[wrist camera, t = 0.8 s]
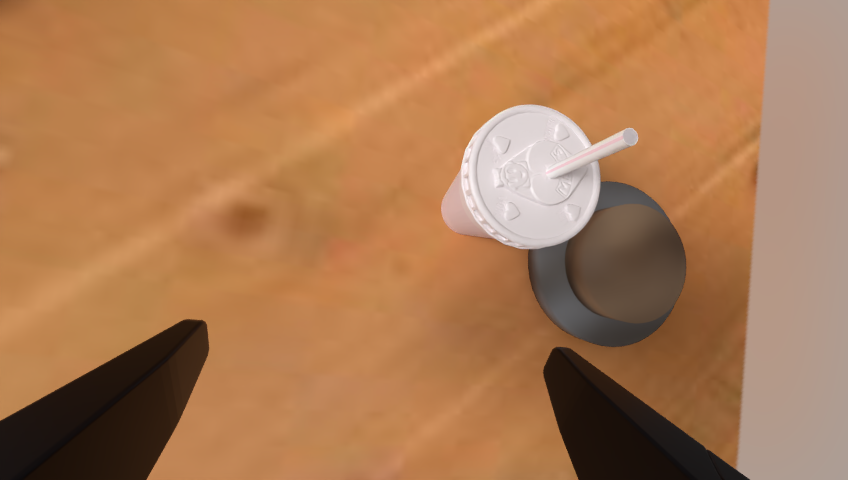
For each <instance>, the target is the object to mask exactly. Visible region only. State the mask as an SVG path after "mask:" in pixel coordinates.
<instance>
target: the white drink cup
mask: <svg viewBox="0 0 848 480" xmlns="http://www.w3.org/2000/svg"><path fill="white" fill-rule="evenodd" d="M637 140H638V135H637V133H636V131H635V130H634V129H632V128H627V129H625V130H623V131H621V132H618V133H616V134H614V135H612V136H610V137H608V138H606V139H604V140H602V141H600V142H598V143H596V144H594V145H591V143H590V141H589V140H588V138H587V137H586V135H585V134H584V132H583V131H582V130H581V129H580V128H579V127H578V126H577V125H576V124H575V123H574V122H573V121H572V120H571V119H569V118H568V117H566V116H565V115H563V114H562V113H560V112H558V111H556V110H553V109H551V108H548V107H544V106H539V105H520V106H515V107H512V108H509V109H506V110H504V111H502V112H500V113H499V114H497V115H496V116H494V117H493V118H492V119H490V120H489V121H488V122H486V123H485V124H484V125H483V126H482V127H481V128H480V129H479V130H478V131H477V132H476V133H475V134H474V135H473V137H472V139H471V141H470V142H469V144H468V146H467V148H466V150H465V153H464V157H463V161H462V165H461V170H460V171H459V173H458V175H457V176H456V178H455V179H454V181H453V183H452V184H451V186H450V188H449V189H448V191H447V193H446V194H445V196H444V198H443V201H442V205H441V212H442V216H443V219H444V221H445V223H446V224H447V226H448V227H449V228H450V229H451V230H453V231H454V232H456V233H459V234H462V235H470V236H478V237H486V238H494V239H496V240H498V241H500V242H501V243H503V244H505V245H509V246H512V247H516V248H519V249H540V248H543V247H549V246H554V245H557V244H560V243H563V242H565V241H567V240H569V239H570V238H572V237H573V236H575V235H576V234H577V233H578V232H580V231H581V230H582V229H583V228H584V226H585V225H586V224H587V223H588V221H589V220H590V218H591V216H592V215H593V213H594V210H595V208H596V205H597V202H598V198H599V194H600V183H601V181H600V169H599V164H598V160H599V159H602V158H604V157H606V156H609V155H611V154H614V153H616V152H618V151H621V150H623V149H625V148H628V147H630V146H633V145H635V144H636V143H637Z"/></svg>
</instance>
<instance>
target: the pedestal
mask: <svg viewBox="0 0 848 480" xmlns="http://www.w3.org/2000/svg"><path fill="white" fill-rule="evenodd" d="M528 269H529V277H530V281H531V285H532V289H533V291H534V294H535V296H536V299H537V301H538V303H539V304H540V306H541V308H542V309H543V311H544V312H545V314H546V315H547V316H548V317H549V318H550V319H551V321H552V322H553V323H554V324H556V325H557V326H558V327H559V328H560V329H562V330H563V331H565V332H566V333H568V334H570V335H572V336H574V337H577V338H579V339H582V340H585V341H588V342H590V343H594V344H597V345H601V346H609V347H619V346H626V345H630V344H633V343H636V342H639V341H641V340H643V339H644V338H646V337H648V336H649V335H651V334H652V333H653V332H655V331H656V330H657V329H658V328H659V327H660V326H661V325H662V324H663V322H664V321H665V320H666V318H667V317H668V316H669V314H670V312H671V311H672V309H673V307H674V304H675V302H676V301H677V299H678V297H679V296H680V293H681V291H682V288H683V285H684V281H685V276H686V257H685V251H684V248H683V244H682V242H681V239H680V237H679V235H678V233H677V231H676V229H675V228H674V226H673V225H672V224H671V222H670V220H669V218H668V217H667V215H666V214H665V212H664V211H663V210H662V209H661V207H660V206H659V205H658V204H657V203H656V202H655V201H654V200H653V199H652V198H651V197H649V196H648V195H647V194H645V193H644V192H642V191H640V190H638V189H637V188H635V187H632V186H630V185H627V184H623V183H618V182H608V181H606V182H601V183H600V194H599V198H598V202H597V205H596V208H595V210H594V213H593V215H592V216H591V218H590V220H589V221H588V223H587V224H586V225H585V226H584V228H583V229H582V230H581V231H580V232H578V233H577V234H576V235H575V236H573V237H572V238H570V239H569V240H567V241H565V242H563V243H560V244H557V245H554V246H549V247H543V248H540V249H529V253H528Z"/></svg>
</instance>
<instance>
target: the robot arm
mask: <svg viewBox="0 0 848 480" xmlns="http://www.w3.org/2000/svg"><path fill="white" fill-rule="evenodd" d="M208 352H209V341H208V331H207V324H206V322H205V321H203V320H192V319H186V320H183V321H181V322H179V323H177V324H175V325H173V326H172V327H170V328H168V329H166V330H164V331H163V332H161V333H159V334H157V335H155V336H154V337H152V338H150V339H148V340H146V341H144V342H143V343H141V344H139V345H137V346H135V347H134V348H132V349H130V350H128V351H126V352H124V353H123V354H121V355H119V356H117V357H115V358H114V359H112V360H110V361H108V362H106V363H104V364H103V365H101V366H99V367H97V368H95V369H94V370H92V371H90V372H88V373H86V374H85V375H83V376H81V377H79V378H77V379H75V380H74V381H72V382H70V383H68V384H66V385H65V386H63V387H61V388H59V389H57V390H55V391H54V392H52V393H50V394H48V395H46V396H45V397H43V398H41V399H39V400H37V401H35V402H34V403H32V404H30V405H28V406H26V407H25V408H23V409H21V410H19V411H17V412H16V413H14V414H12V415H10V416H8V417H6V418H5V419H3V420H1V421H0V480H146V479H147V478H148V476H149V474H150V472H151V471H152V469H153V467H154V465H155V464H156V462H157V460H158V458H159V456H160V455H161V453H162V451H163V449H164V448H165V446H166V444H167V442H168V440H169V439H170V437H171V435H172V433H173V432H174V430H175V428H176V426H177V424H178V422H179V420H180V418H181V416H182V414H183V411H184V409H185V407H186V405H187V402H188V400H189V398H190V395H191V393H192V391H193V388H194V386H195V384H196V381H197V379H198V377H199V375H200V372H201V370H202V368H203V365H204V363H205V361H206V358H207V356H208ZM543 374H544V379H545V382H546V386H547V389H548V393H549V396H550V400H551V403H552V407H553V410H554V414H555V417H556V421H557V424H558V427H559V430H560V433H561V436H562V438H563V441H564V444H565V446H566V449H567V451H568V454H569V456H570V459H571V462H572V464H573V467H574V469H575V472H576V474H577V477H578V479H579V480H750V479H748V478H747V477H745V476H744V475H743V474H741V473H740V472H738V471H737V470H736V469H734V468H733V467H731V466H730V465H729V464H727V463H726V462H725V461H723V460H722V459H720V458H719V457H718V456H716V455H715V454H714V453H712V452H711V451H710V450H706V448H705V447H704V446H703V445H701V444H700V443H699V442H697V441H696V440H694V439H693V438H692V437H690V436H689V435H688V434H686V433H685V432H683V431H682V430H681V429H679V428H678V427H677V426H675V425H674V424H673V423H671V422H670V421H668V420H667V419H666V418H664V417H663V416H662V415H660V414H659V413H657V412H656V411H655V410H653V409H652V408H651V407H649V406H648V405H647V404H645V403H644V402H642V401H641V400H640V399H638V398H637V397H636V396H634V395H633V394H632V393H630V392H629V391H627V390H626V389H625V388H623V387H622V386H621V385H619V384H618V383H616V382H615V381H614V380H612V379H611V378H610V377H608V376H607V375H606V374H604V373H603V372H601V371H600V370H599V369H597V368H596V367H595V366H593V365H592V364H591V363H589V362H588V361H586V360H585V359H584V358H582V357H581V356H580V355H578V354H577V353H575V352H574V351H573V350H571V349H570V348H565V347H555V348H554V349H553V350H552V352H551V354H550V356H549V358H548V360H547V362H546V364H545V366H544V370H543Z"/></svg>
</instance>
